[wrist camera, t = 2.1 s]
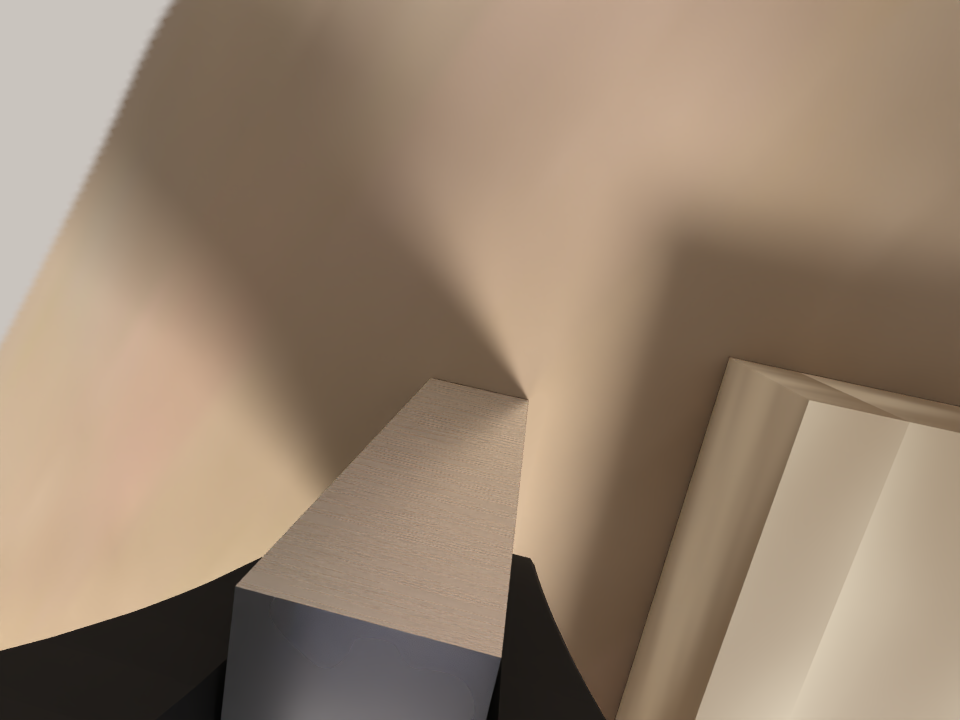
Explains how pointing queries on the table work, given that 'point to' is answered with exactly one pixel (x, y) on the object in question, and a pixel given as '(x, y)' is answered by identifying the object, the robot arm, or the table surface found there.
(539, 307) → the table surface
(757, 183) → the table surface
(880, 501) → the post beam
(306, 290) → the table surface
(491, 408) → the rectangular metal block
